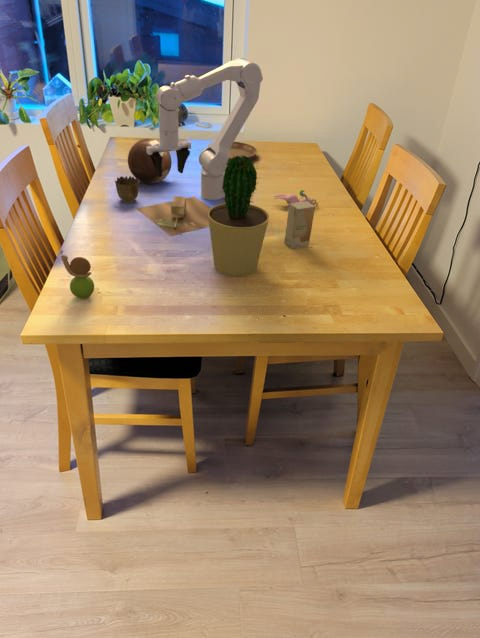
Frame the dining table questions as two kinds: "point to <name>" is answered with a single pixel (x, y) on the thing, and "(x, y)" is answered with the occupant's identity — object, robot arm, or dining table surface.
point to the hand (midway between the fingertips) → (169, 174)
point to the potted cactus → (237, 221)
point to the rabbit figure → (295, 198)
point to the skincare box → (299, 224)
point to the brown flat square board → (191, 221)
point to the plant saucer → (241, 150)
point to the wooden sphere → (147, 162)
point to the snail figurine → (79, 276)
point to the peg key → (178, 208)
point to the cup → (127, 188)
